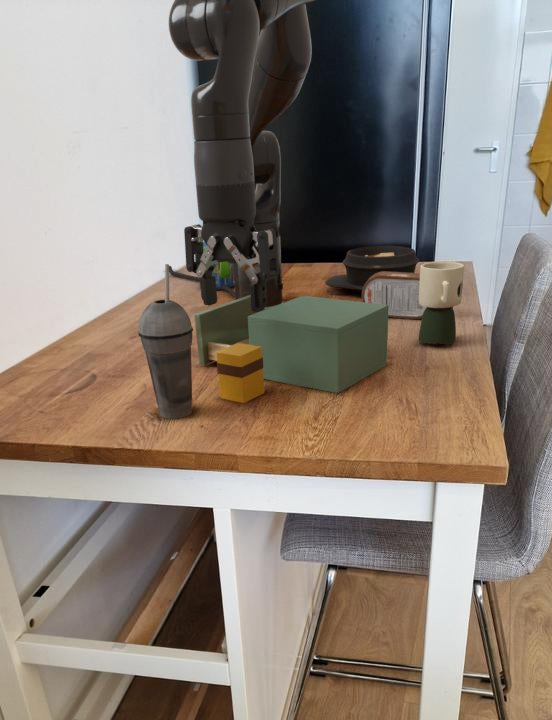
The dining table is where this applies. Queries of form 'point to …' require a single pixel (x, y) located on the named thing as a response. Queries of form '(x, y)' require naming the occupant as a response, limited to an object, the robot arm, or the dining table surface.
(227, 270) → the snack cup
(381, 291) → the tin
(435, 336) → the character mug
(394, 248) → the casserole
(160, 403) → the beverage cup
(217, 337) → the drawer
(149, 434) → the dining table surface
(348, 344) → the cabinet
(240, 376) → the snack box
